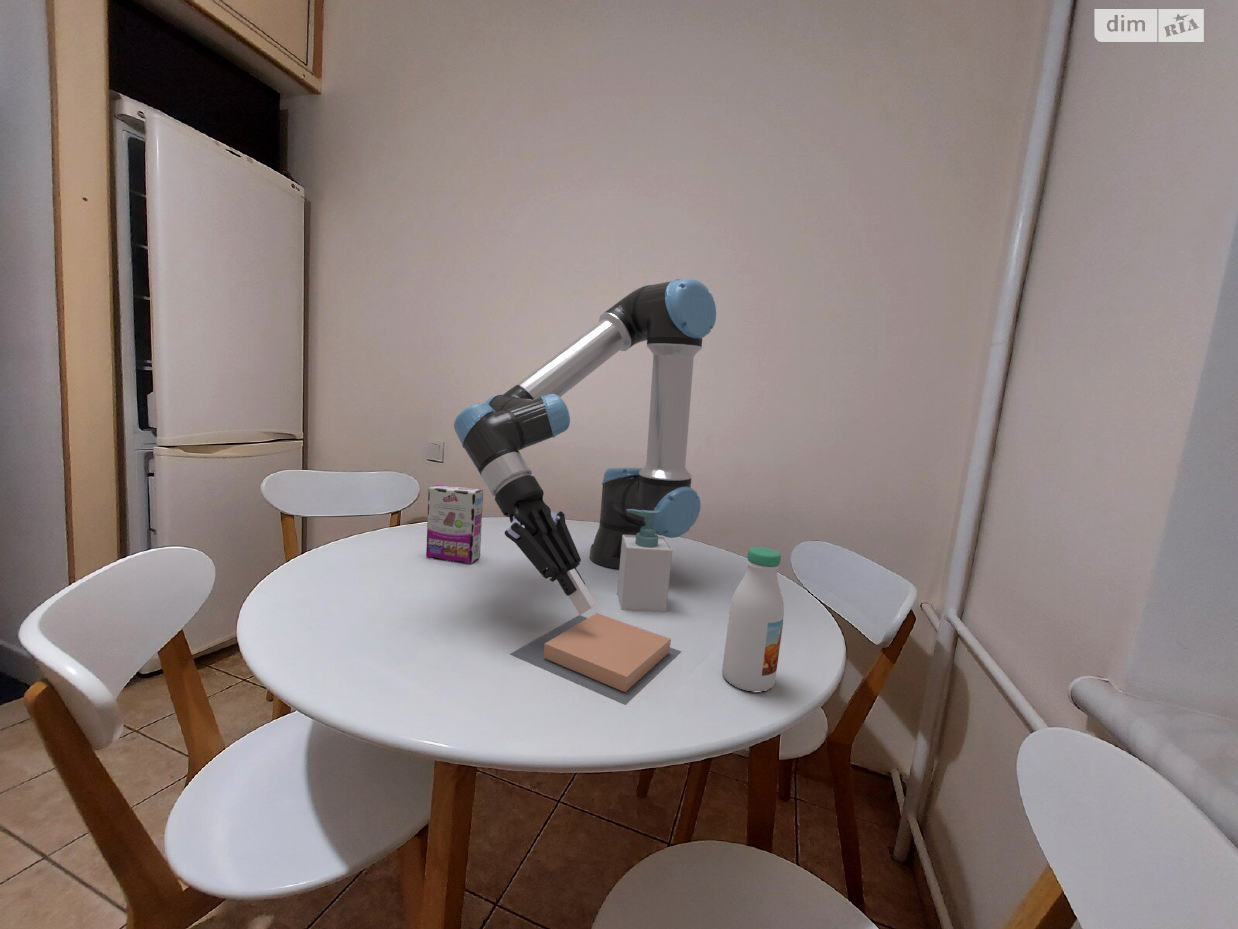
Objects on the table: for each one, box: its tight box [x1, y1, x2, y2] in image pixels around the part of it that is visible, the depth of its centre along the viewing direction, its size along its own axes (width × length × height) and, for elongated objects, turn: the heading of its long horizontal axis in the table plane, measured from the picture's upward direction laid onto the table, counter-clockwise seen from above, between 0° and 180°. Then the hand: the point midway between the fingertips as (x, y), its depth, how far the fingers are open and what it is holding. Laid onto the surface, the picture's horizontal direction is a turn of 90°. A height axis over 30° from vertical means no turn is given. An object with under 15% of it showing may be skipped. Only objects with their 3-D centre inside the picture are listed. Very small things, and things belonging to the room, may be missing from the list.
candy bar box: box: [425, 484, 484, 565], centre depth 117 cm, size 11×5×16 cm, turn 81°
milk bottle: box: [721, 546, 785, 692], centre depth 76 cm, size 8×8×20 cm
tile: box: [543, 612, 672, 692], centre depth 78 cm, size 2×14×14 cm
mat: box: [509, 614, 682, 706], centre depth 79 cm, size 20×18×1 cm
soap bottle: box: [616, 509, 673, 613], centre depth 100 cm, size 9×9×19 cm
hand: (588, 609), depth 80 cm, fingers closed
